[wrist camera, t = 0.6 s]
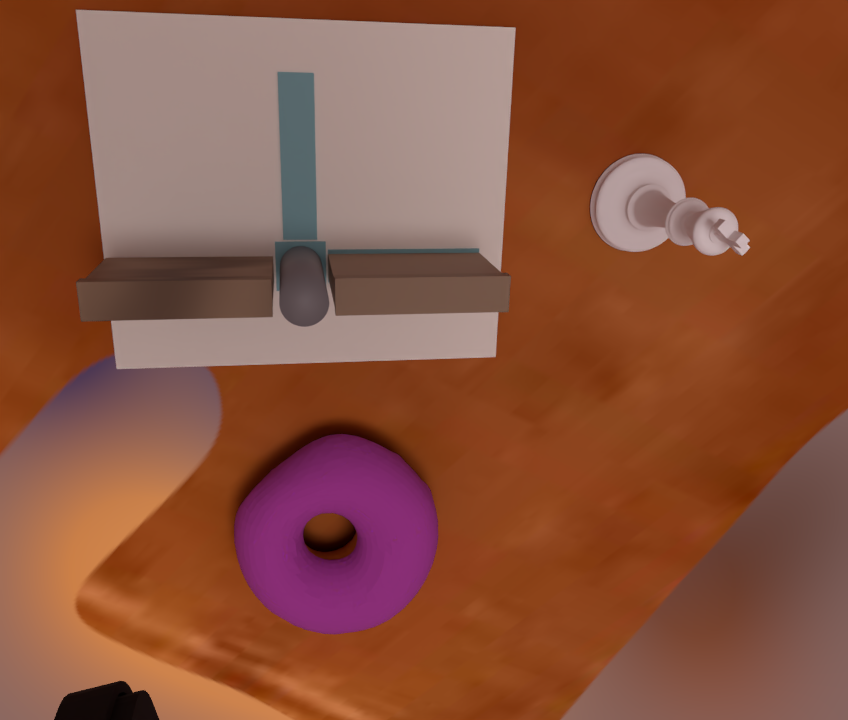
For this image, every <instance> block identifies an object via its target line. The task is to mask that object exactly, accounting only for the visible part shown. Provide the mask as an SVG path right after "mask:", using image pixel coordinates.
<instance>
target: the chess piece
mask: <svg viewBox="0 0 848 720" xmlns="http://www.w3.org/2000/svg"><path fill="white" fill-rule="evenodd" d="M590 214H591V220H592V223H593V226H594V228H595V230H596V232H597V234H598V235H599V236H600V238H601V239H602V240H603V241H604V242H606V243H607V244H608V245H610V246H612V247H614V248H616V249H619V250H623V251H630V252H640V251H646V250H649V249H652V248H654V247H656V246H658V245H660V244H661V243H663V242H664V241H665V240H667V239H668V238H669V239H670V240H671V241H672V242H674V243H675V244H678V245H682V246H687V245H692V244H693V245H694V246H695V247H696V249H697V250H698V251H700V252H701V253H703V254H706V255H718V254H721V253H723V252H725V251H726V250H728V249H729V248H730V247H731V248H732V249H733V250H734V251H735V252H736V253H737V254H739V255H742V256H743V255H744V254H745V253H746V252H747V250H748V249H749V248H750V247H749V246H748V245H747V243H748V242H749V241H750V240H749V239H748V238H747V237H746V236H745V235H744V234H743V233H741V232H738V222H737V219H736V217H735V215H734V214H733V213H732V212H731V211H729V210H728V209H726V208H722V207H714V208H708V207H707V205H706V204H705V203H704V202H703V201H701V200H700V199H697V198H686V195H685V188H684V184H683V181H682V179H681V177H680V175H679V174H678V172H677V171H676V170H675V169H674V167H672V166H671V165H670V164H669V163H667V162H666V161H664V160H662V159H661V158H659V157H657V156H654V155H650V154H633V155H629V156H626V157H623V158H621V159H619V160H618V161H616V162H614V163H613V164H612V165H610V166H609V167H608V168H607V169H606V170H605V171H604V172H603V174H602V175H601V176H600V178H599V179H598V181H597V183H596V185H595V187H594V190H593V193H592V196H591V202H590Z"/></svg>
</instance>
